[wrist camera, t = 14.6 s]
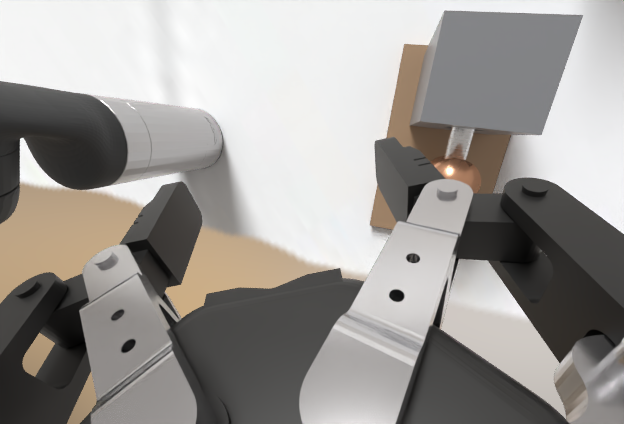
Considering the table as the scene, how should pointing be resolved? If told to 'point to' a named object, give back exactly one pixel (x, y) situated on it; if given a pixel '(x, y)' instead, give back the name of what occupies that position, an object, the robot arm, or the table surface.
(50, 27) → the table surface
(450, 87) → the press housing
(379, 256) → the robot arm
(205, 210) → the table surface
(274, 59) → the table surface
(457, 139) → the plunger
